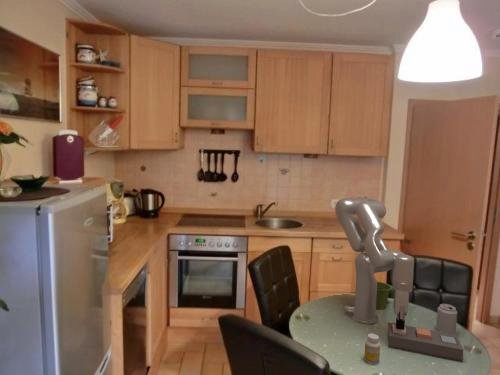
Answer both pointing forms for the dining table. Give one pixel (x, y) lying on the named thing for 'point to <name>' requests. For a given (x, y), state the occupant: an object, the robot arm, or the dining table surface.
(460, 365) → the dining table surface
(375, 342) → the supplement bottle
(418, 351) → the key panel
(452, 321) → the can
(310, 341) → the dining table surface
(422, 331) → the terracotta key
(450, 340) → the slate key
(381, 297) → the plant pot
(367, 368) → the dining table surface
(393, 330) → the cream key
